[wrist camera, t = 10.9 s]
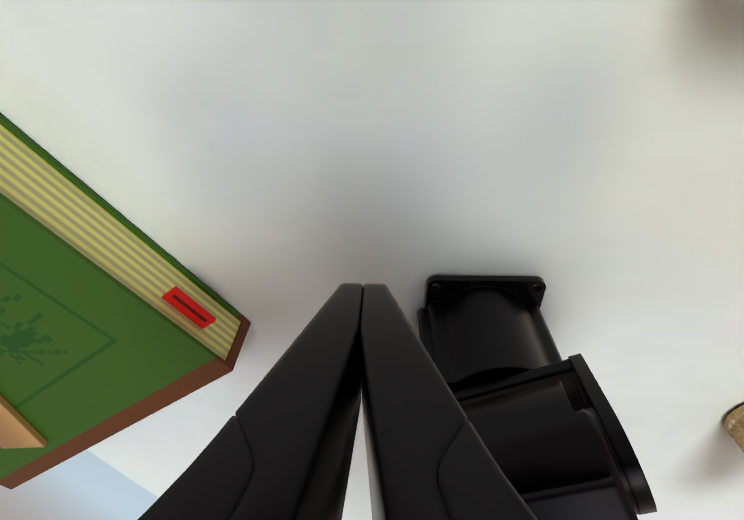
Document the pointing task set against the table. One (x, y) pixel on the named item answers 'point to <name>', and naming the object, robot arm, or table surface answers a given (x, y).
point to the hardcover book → (92, 314)
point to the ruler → (17, 429)
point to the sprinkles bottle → (736, 425)
